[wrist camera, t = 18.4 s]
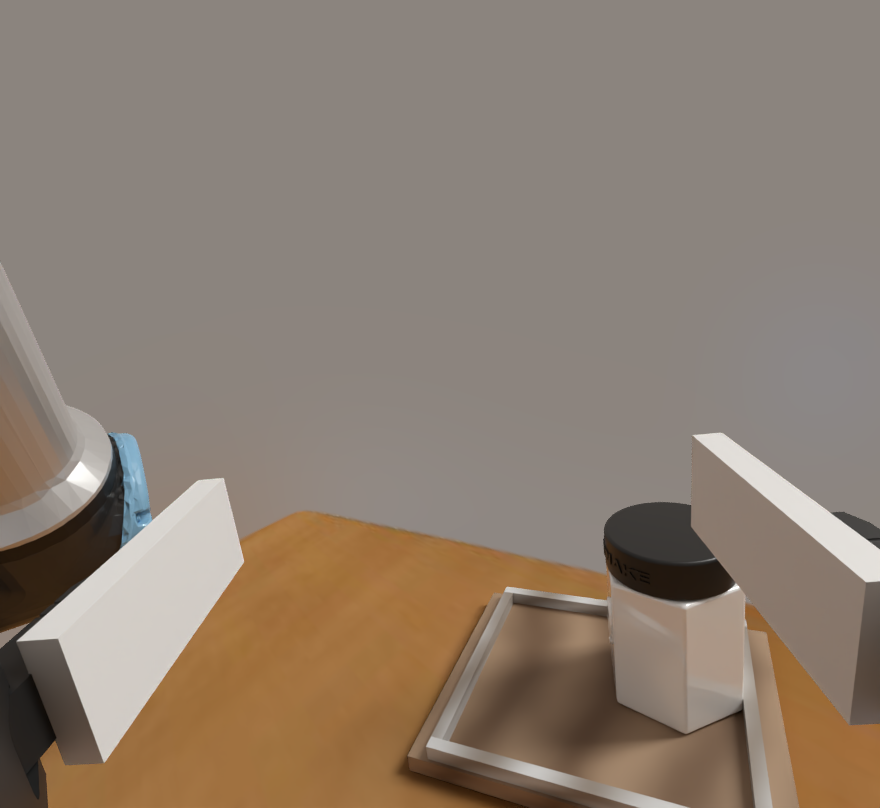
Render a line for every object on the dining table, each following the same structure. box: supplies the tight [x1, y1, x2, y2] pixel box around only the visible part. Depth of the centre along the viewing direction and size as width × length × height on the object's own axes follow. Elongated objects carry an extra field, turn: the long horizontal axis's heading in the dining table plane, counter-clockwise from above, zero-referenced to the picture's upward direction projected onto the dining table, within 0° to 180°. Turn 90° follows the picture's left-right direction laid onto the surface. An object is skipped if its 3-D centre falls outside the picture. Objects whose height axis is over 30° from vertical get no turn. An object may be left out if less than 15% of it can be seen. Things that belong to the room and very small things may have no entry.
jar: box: [603, 502, 745, 734], centre depth 37 cm, size 9×8×12 cm
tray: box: [407, 587, 799, 808], centre depth 39 cm, size 22×18×2 cm
